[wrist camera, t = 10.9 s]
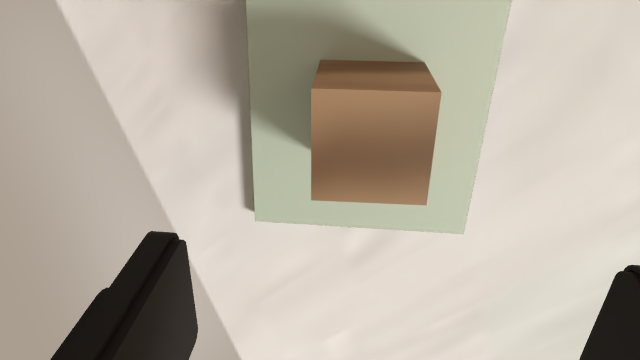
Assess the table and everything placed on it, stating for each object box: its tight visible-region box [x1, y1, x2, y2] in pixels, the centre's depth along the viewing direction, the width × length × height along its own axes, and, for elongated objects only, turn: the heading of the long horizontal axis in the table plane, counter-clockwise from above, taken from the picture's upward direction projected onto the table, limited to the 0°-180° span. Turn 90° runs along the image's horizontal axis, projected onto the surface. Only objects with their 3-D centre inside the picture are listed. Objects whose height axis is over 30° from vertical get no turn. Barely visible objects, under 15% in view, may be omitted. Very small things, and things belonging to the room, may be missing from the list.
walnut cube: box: [311, 60, 442, 206], centre depth 21 cm, size 5×5×5 cm
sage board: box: [246, 0, 512, 234], centre depth 24 cm, size 14×12×1 cm
